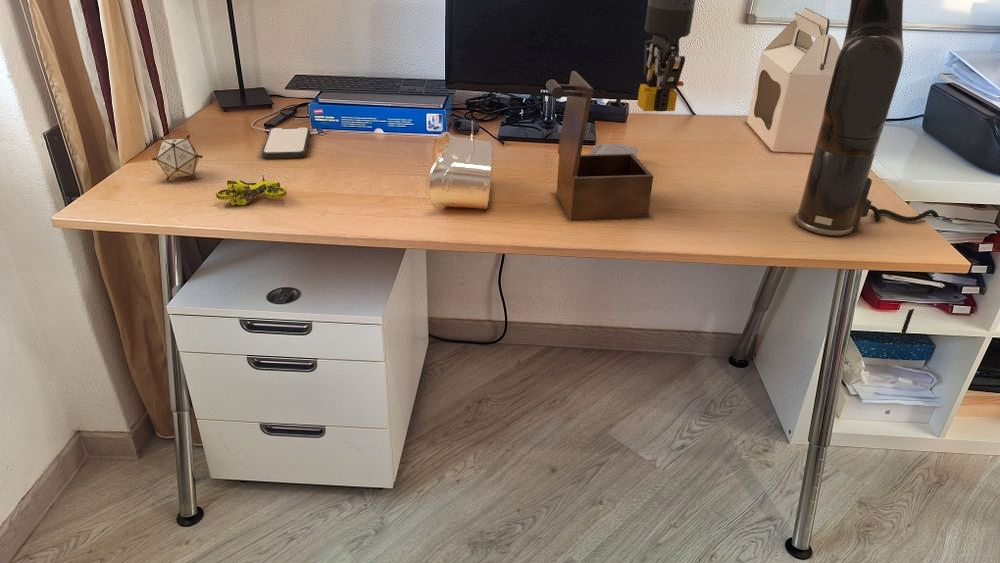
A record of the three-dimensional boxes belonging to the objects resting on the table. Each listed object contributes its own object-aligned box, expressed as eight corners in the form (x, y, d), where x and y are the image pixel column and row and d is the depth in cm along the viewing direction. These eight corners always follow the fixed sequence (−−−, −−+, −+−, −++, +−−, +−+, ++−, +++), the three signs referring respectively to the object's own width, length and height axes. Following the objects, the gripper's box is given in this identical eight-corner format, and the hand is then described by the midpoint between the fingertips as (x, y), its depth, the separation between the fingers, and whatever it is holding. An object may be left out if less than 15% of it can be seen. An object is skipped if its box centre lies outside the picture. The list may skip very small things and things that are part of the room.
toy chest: (627, 192, 137) (632, 153, 134) (647, 217, 127) (653, 176, 124) (556, 194, 135) (559, 155, 131) (570, 220, 125) (574, 178, 122)
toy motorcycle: (212, 188, 123) (219, 174, 129) (215, 208, 125) (222, 194, 131) (284, 185, 125) (287, 172, 131) (286, 206, 127) (290, 191, 133)
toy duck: (642, 111, 124) (647, 75, 121) (635, 104, 127) (640, 70, 124) (682, 111, 125) (688, 76, 122) (674, 104, 128) (680, 70, 125)
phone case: (305, 159, 148) (311, 133, 162) (305, 152, 147) (310, 126, 161) (261, 160, 147) (270, 134, 160) (260, 153, 146) (269, 127, 160)
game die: (174, 196, 139) (137, 153, 136) (210, 171, 142) (175, 129, 139) (180, 188, 131) (141, 143, 128) (218, 162, 135) (181, 117, 132)
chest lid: (575, 71, 124) (543, 68, 123) (593, 88, 114) (558, 85, 113) (561, 152, 131) (530, 150, 130) (576, 176, 121) (543, 174, 120)
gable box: (746, 122, 179) (770, 4, 165) (799, 124, 179) (828, 6, 165) (772, 152, 160) (802, 21, 146) (831, 154, 160) (867, 23, 146)
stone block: (586, 183, 145) (636, 178, 143) (584, 160, 143) (634, 155, 141) (592, 165, 155) (638, 160, 153) (589, 143, 153) (637, 139, 151)
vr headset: (433, 177, 141) (431, 104, 134) (490, 178, 141) (492, 106, 134) (427, 215, 125) (424, 135, 118) (492, 216, 126) (493, 136, 119)
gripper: (709, 12, 112) (690, 119, 121) (677, -3, 124) (662, 95, 133) (663, 11, 111) (648, 119, 120) (636, -4, 123) (623, 95, 132)
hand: (655, 106), depth 126 cm, fingers closed on toy duck, 4 cm apart
